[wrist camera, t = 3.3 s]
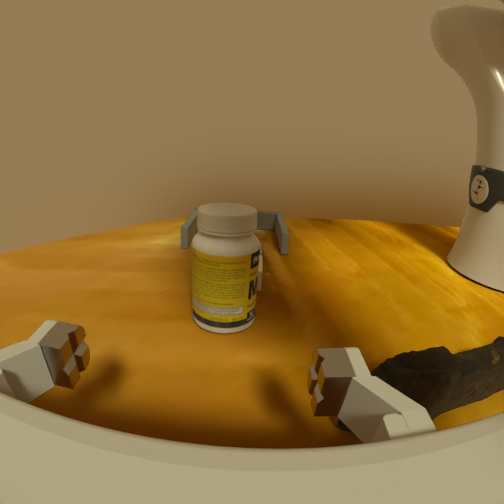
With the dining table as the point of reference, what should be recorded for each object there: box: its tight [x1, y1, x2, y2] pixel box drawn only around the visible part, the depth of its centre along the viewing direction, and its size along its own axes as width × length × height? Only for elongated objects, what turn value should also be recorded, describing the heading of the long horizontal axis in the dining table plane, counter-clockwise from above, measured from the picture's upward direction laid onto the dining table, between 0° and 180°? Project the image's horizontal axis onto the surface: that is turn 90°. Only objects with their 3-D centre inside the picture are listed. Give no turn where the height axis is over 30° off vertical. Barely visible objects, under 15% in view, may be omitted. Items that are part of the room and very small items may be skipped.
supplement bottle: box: [192, 203, 260, 334], centre depth 22 cm, size 5×5×8 cm
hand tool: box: [337, 336, 504, 432], centre depth 15 cm, size 19×4×5 cm, turn 95°
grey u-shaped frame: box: [181, 208, 290, 254], centre depth 42 cm, size 13×11×2 cm
